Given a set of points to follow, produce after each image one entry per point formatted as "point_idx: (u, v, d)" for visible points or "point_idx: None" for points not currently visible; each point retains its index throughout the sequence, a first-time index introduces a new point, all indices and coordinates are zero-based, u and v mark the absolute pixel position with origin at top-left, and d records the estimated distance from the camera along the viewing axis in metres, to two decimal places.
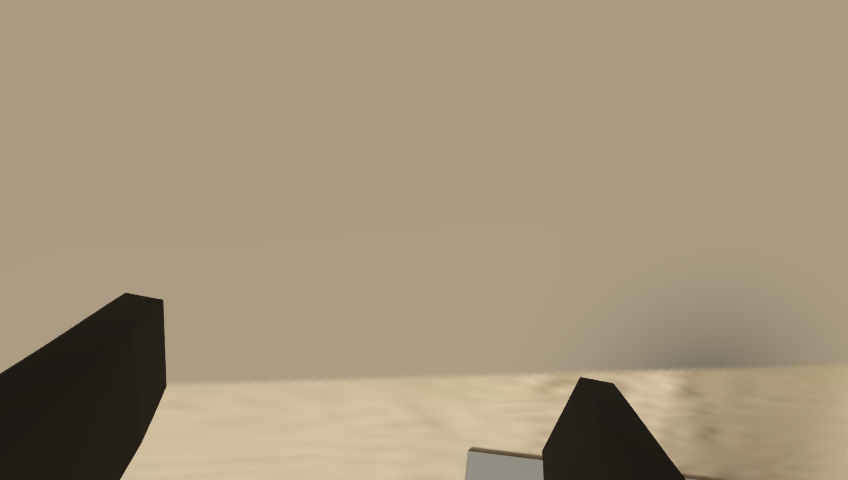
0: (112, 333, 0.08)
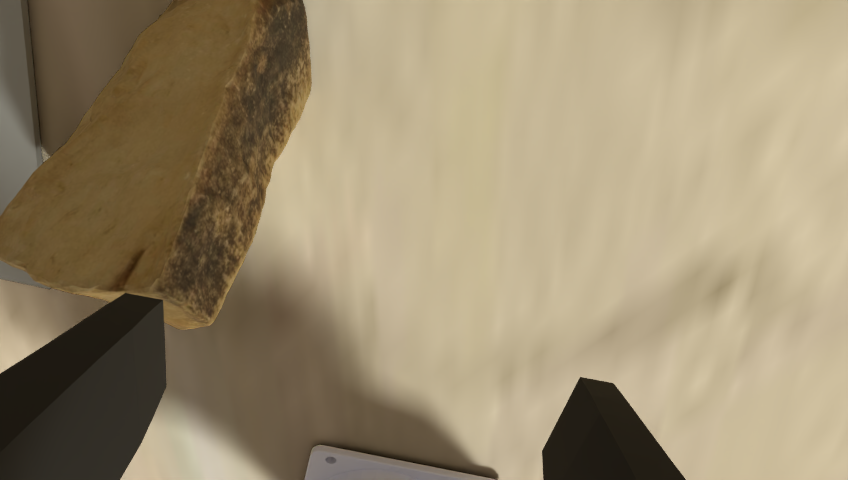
0: (112, 333, 0.08)
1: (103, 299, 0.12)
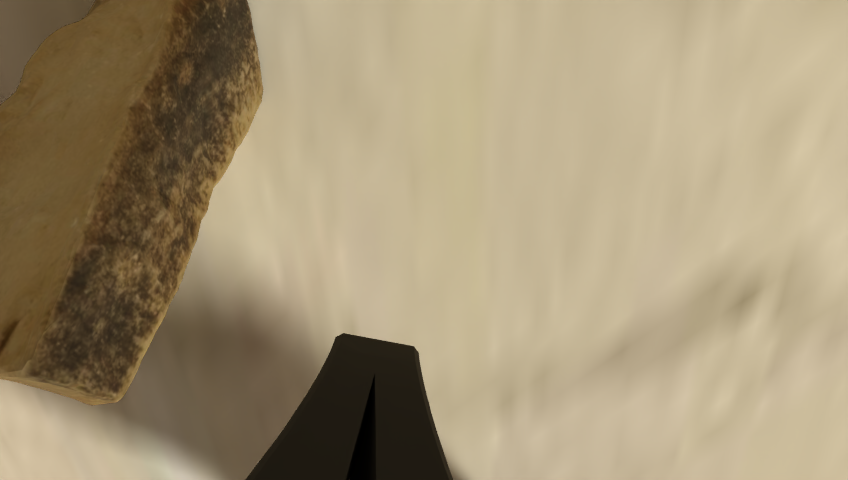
0: (359, 376, 0.08)
1: None
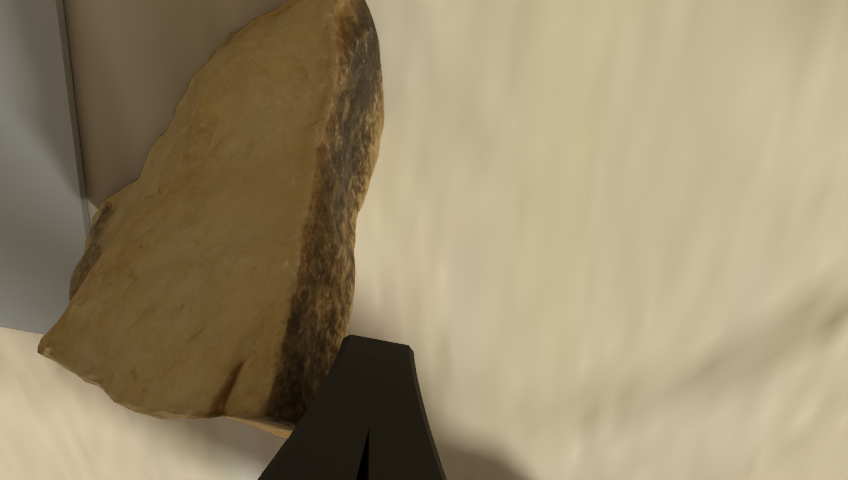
0: (367, 377, 0.08)
1: None
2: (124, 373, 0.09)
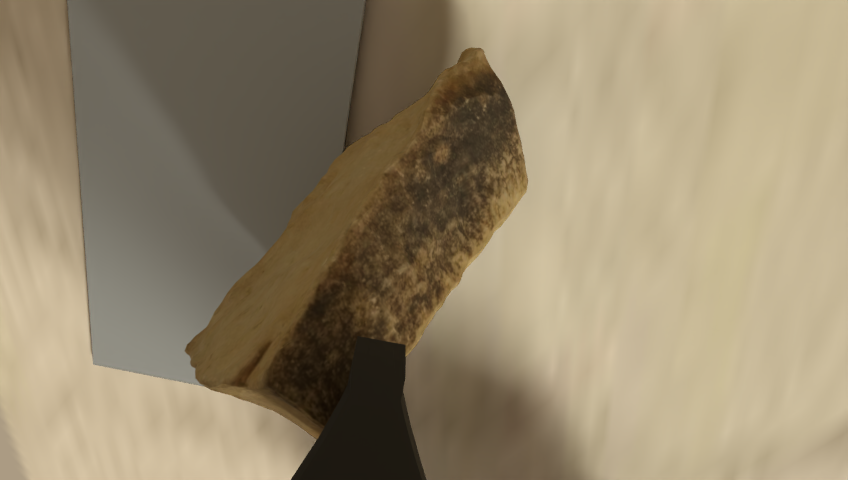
0: (390, 382, 0.08)
1: (255, 403, 0.11)
2: (208, 357, 0.11)
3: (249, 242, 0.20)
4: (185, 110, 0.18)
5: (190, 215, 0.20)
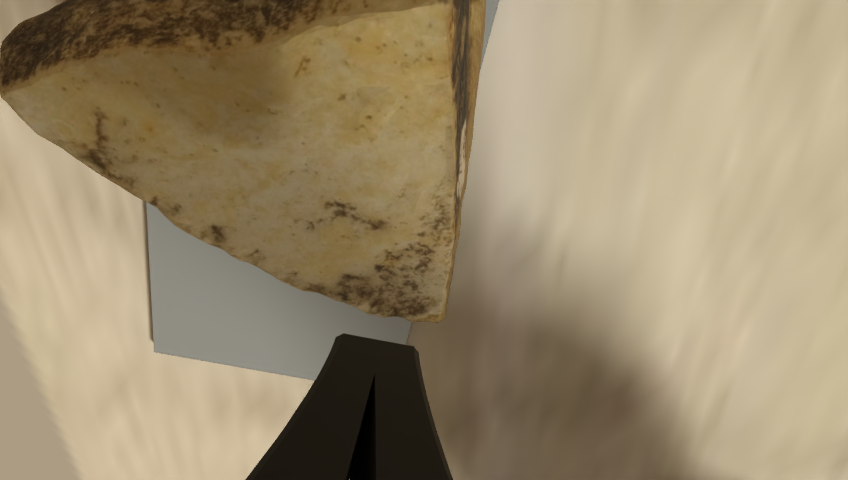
0: (359, 377, 0.08)
1: None
2: None
3: None
4: None
5: None
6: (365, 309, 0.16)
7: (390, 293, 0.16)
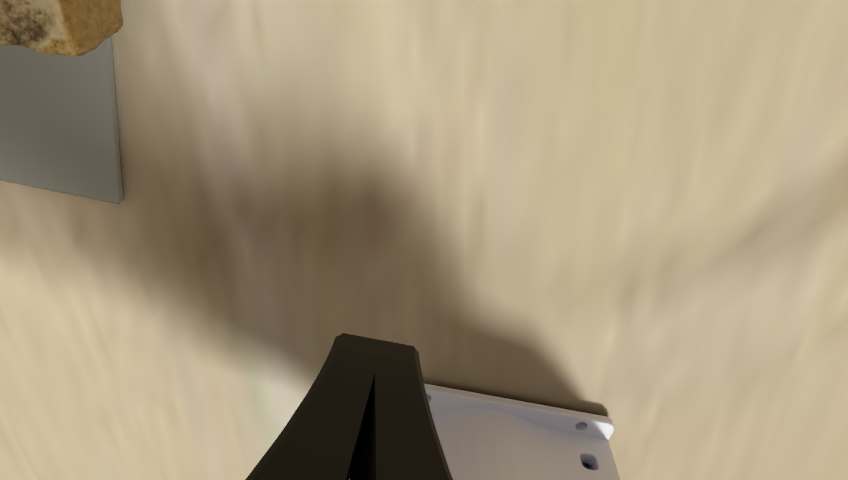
0: (359, 376, 0.08)
1: None
2: None
3: None
4: None
5: None
6: None
7: None
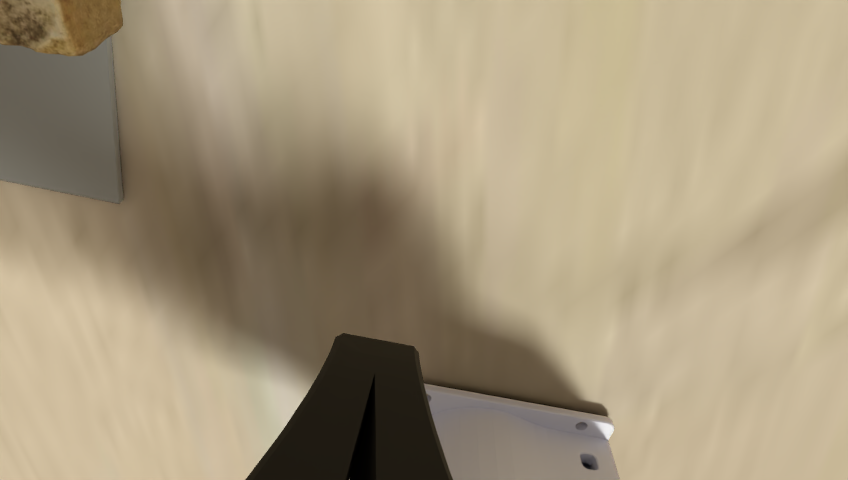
0: (359, 376, 0.08)
1: None
2: None
3: None
4: None
5: None
6: None
7: None
